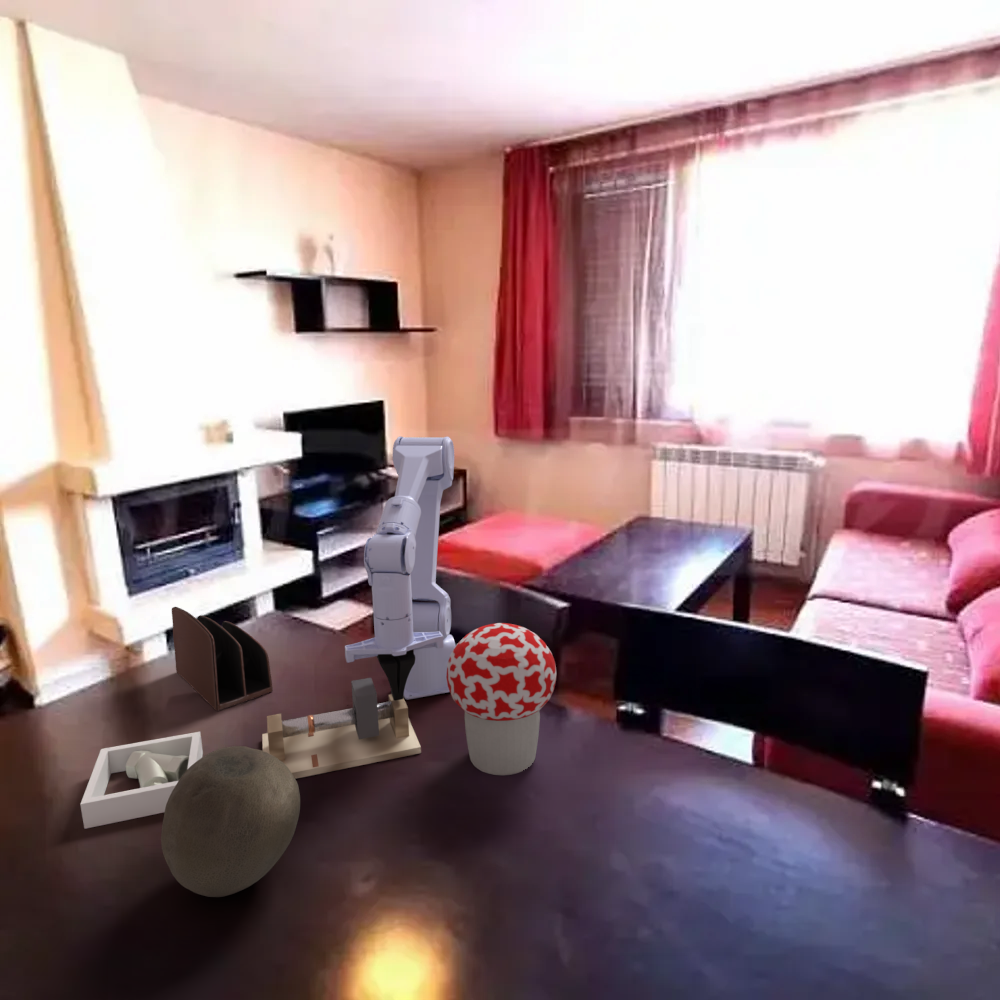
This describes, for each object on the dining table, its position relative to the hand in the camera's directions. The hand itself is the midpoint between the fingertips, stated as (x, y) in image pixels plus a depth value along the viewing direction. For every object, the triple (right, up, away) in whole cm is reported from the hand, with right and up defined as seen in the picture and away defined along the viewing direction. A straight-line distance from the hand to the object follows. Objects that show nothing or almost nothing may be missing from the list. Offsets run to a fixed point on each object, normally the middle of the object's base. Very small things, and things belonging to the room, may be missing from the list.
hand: (397, 696), depth 106 cm
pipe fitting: (-32, -10, -10) cm, 35 cm away
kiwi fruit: (-14, -13, -27) cm, 33 cm away
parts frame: (-33, -9, -11) cm, 36 cm away
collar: (-5, -5, -1) cm, 7 cm away
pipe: (-8, -4, -2) cm, 10 cm away
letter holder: (-34, -3, +20) cm, 40 cm away
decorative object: (+16, -8, -5) cm, 18 cm away
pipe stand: (-8, -7, -1) cm, 11 cm away
